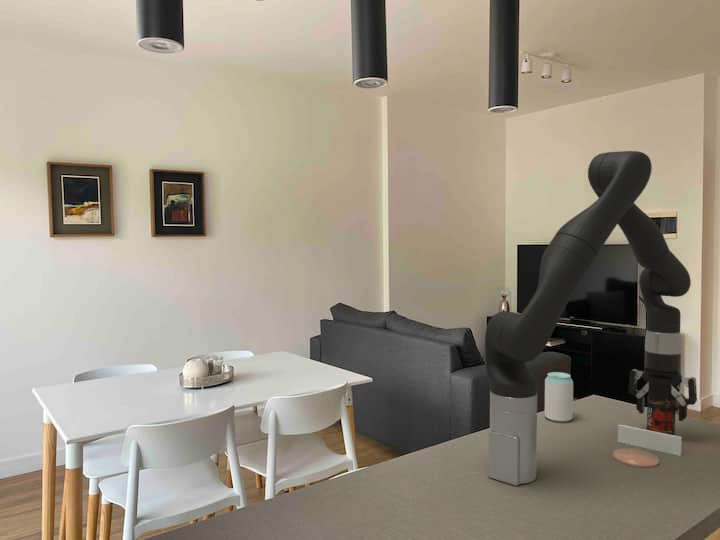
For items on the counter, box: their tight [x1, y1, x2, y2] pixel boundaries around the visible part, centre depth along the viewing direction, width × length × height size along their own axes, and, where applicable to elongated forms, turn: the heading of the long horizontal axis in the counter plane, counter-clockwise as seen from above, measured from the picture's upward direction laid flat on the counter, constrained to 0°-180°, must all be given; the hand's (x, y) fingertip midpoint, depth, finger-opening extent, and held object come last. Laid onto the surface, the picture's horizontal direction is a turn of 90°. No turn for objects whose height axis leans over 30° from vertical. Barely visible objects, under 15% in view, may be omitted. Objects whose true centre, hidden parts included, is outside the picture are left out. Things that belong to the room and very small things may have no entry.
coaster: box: [612, 447, 660, 469], centre depth 119 cm, size 9×9×1 cm
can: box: [544, 371, 574, 423], centre depth 146 cm, size 7×7×12 cm
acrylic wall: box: [617, 424, 683, 457], centre depth 125 cm, size 1×13×4 cm, turn 49°
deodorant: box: [646, 375, 677, 436], centre depth 132 cm, size 6×6×15 cm
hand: (661, 416), depth 132 cm, fingers open, 8 cm apart
